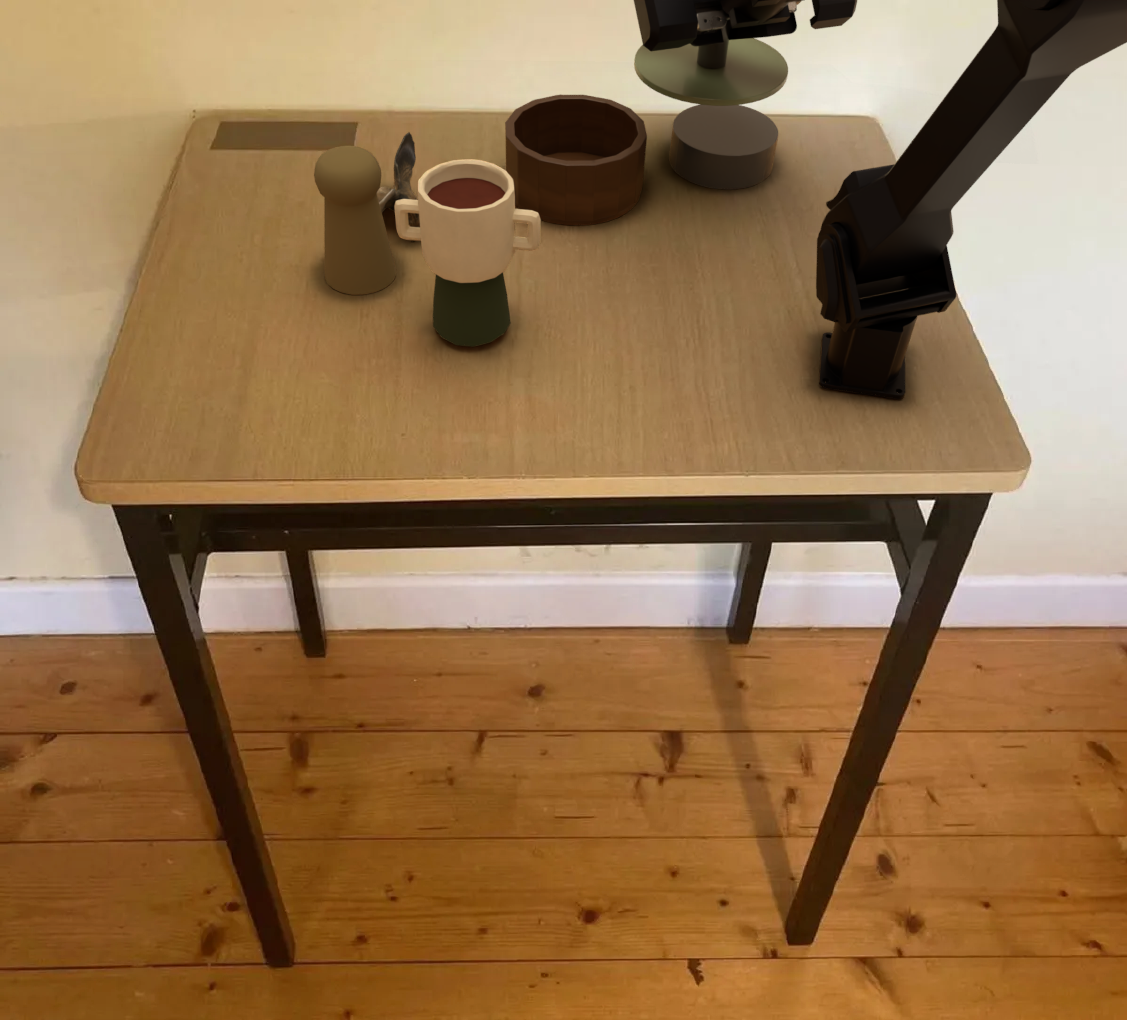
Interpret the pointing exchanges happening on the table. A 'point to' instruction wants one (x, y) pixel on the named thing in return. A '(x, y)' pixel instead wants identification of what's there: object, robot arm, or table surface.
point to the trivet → (723, 146)
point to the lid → (714, 71)
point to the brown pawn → (353, 222)
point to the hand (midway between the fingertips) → (707, 36)
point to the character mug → (468, 245)
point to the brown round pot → (575, 158)
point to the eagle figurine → (401, 180)
